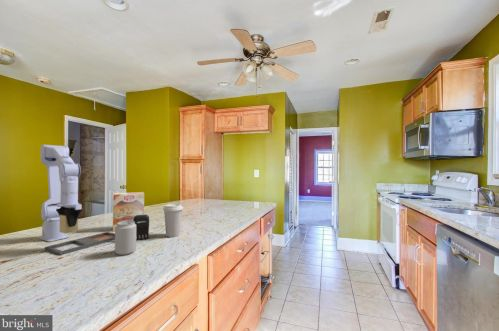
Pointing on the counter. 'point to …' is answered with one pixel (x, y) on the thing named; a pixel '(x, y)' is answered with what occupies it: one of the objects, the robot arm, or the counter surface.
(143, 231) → the battery charger
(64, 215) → the brass block
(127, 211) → the coffeecake box
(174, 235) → the coffee cup
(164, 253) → the counter surface
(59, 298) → the counter surface
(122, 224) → the can
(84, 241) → the gray rectangular frame
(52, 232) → the robot arm
